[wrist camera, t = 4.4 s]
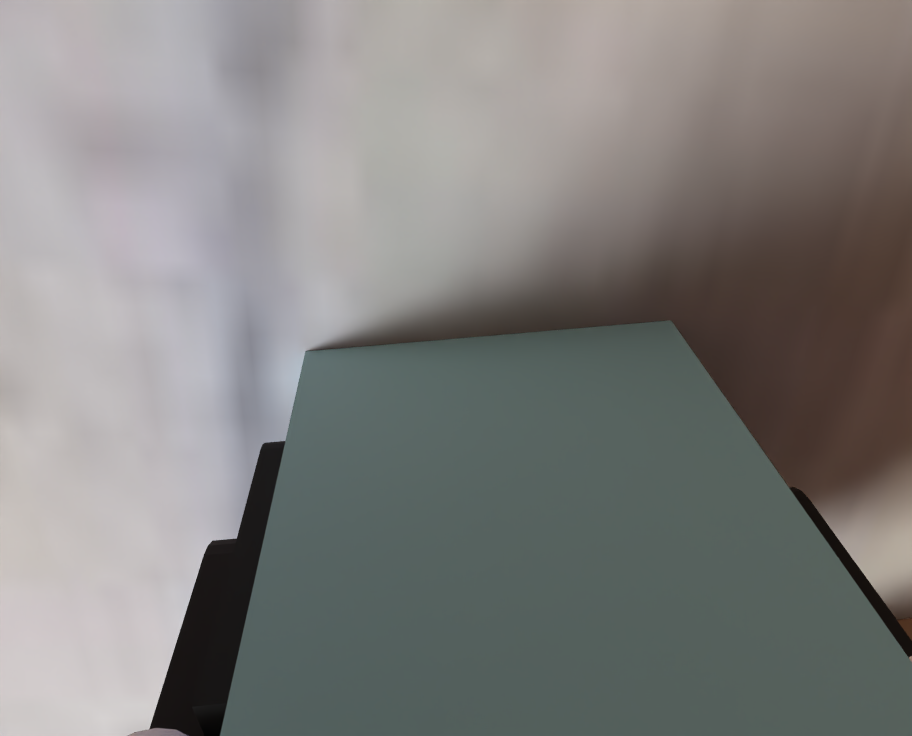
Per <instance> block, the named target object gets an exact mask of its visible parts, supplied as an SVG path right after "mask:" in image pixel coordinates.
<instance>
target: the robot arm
mask: <svg viewBox="0 0 912 736" xmlns="http://www.w3.org/2000/svg"><path fill="white" fill-rule="evenodd" d="M732 408H733V407H732ZM734 411H735V410H734ZM735 412H736V411H735ZM737 415H738V414H737ZM739 418H740V417H739ZM742 422H743V421H742ZM744 425H745V424H744ZM746 428H747V427H746ZM747 429H748V428H747ZM749 432H750V431H749ZM751 435H752V434H751ZM753 438H754V437H753ZM754 439H755V438H754ZM756 442H757V441H756ZM758 445H759V444H758ZM284 446H285V441H281V442H270V443H264V444H263V445H262V447H261V450H260V454H259V458H258V461H257V465H256V469H255V473H254V476H253V480H252V484H251V488H250V491H249V495H248V499H247V503H246V506H245V510H244V514H243V518H242V521H241V525H240V529H239V533H238V536H237V539H227V540H216V541H212V542H211V543H210V544H209V545H208V547H207V549H206V552H205V554H204V557H203V560H202V563H201V566H200V569H199V573H198V576H197V579H196V582H195V585H194V589H193V592H192V595H191V598H190V601H189V605H188V608H187V611H186V614H185V617H184V621H183V624H182V627H181V630H180V633H179V637H178V640H177V643H176V646H175V649H174V652H173V656H172V659H171V662H170V665H169V668H168V672H167V675H166V678H165V681H164V684H163V688H162V691H161V694H160V697H159V700H158V704H157V707H156V710H155V713H154V716H153V720H152V723H151V726H150V729H149V730H144V731H139V732H134V733H132V734H130V735H128V736H220V733H221V729H222V724H223V720H224V715H225V711H226V706H227V702H228V697H229V693H230V688H231V684H232V679H233V675H234V670H235V666H236V661H237V657H238V652H239V648H240V643H241V639H242V634H243V630H244V625H245V621H246V617H247V612H248V608H249V603H250V599H251V594H252V590H253V585H254V581H255V576H256V572H257V567H258V563H259V558H260V554H261V549H262V545H263V540H264V536H265V531H266V527H267V522H268V518H269V513H270V509H271V504H272V500H273V495H274V491H275V486H276V482H277V477H278V473H279V468H280V464H281V459H282V455H283V450H284ZM761 449H762V448H761ZM763 452H764V451H763ZM765 455H766V454H765ZM766 456H767V455H766ZM768 459H769V458H768ZM770 462H771V461H770ZM773 466H774V465H773ZM775 469H776V468H775ZM777 472H778V471H777ZM778 473H779V472H778ZM780 476H781V475H780ZM782 479H783V478H782ZM784 482H785V481H784ZM785 483H786V482H785ZM787 486H788V485H787ZM789 489H790V490H791V491H792V493H793V494H794V496H795V497H796V499H797V500H798V501H799V503H800V504H801V506H802V507H803V509H804V510H805V511H806V513H807V514H808V516H809V517H810V518H811V520H812V521H813V523H814V524H815V526H816V527H817V528H818V530H819V531H820V533H821V534H822V536H823V537H824V538H825V540H826V541H827V543H828V544H829V545H830V547H831V548H832V550H833V551H834V553H835V554H836V555H837V557H838V558H839V560H840V561H841V563H842V564H843V565H844V567H845V568H846V570H847V571H848V572H849V574H850V575H851V577H852V578H853V580H854V581H855V582H856V584H857V585H858V587H859V588H860V590H861V591H862V592H863V594H864V595H865V597H866V598H867V599H868V601H869V602H870V604H871V605H872V607H873V608H874V609H875V611H876V612H877V614H878V615H879V617H880V618H881V619H882V621H883V622H884V624H885V625H886V626H887V628H888V629H889V631H890V632H891V634H892V635H893V636H894V638H895V639H896V641H897V642H898V643H899V645H900V646H901V648H902V649H903V651H904V652H905V653H906V655H907V656H908V658H909V659H910V661H911V662H912V640H911V639H910V637H909V636H908V635H907V633H906V632H905V631H904V629H903V628H902V626H901V625H900V624H899V622H898V621H897V620H896V618H895V617H894V615H893V614H892V613H891V611H890V610H889V609H888V607H887V606H886V604H885V603H884V602H883V600H882V599H881V598H880V596H879V595H878V593H877V592H876V591H875V589H874V588H873V586H872V585H871V584H870V582H869V581H868V580H867V578H866V577H865V575H864V574H863V573H862V571H861V570H860V569H859V567H858V566H857V564H856V563H855V562H854V560H853V559H852V558H851V556H850V555H849V553H848V552H847V551H846V549H845V548H844V547H843V545H842V544H841V542H840V541H839V540H838V538H837V537H836V536H835V534H834V533H833V531H832V530H831V529H830V527H829V526H828V524H827V523H826V522H825V520H824V519H823V518H822V516H821V515H820V513H819V512H818V511H817V509H816V508H815V507H814V505H813V504H812V502H811V501H810V500H809V498H808V497H807V496H806V495H805V494H804V493H803V492H802V491H801V490H799V489H796V488H794V487H792V488H789Z"/></svg>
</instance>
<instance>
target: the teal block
mask: <svg viewBox="0 0 912 736" xmlns="http://www.w3.org/2000/svg"><path fill="white" fill-rule="evenodd" d="M220 736H912V662H911V661H910V659H909V658H908V656H907V655H906V653H905V652H904V651H903V649H902V648H901V646H900V645H899V643H898V642H897V641H896V639H895V638H894V636H893V635H892V634H891V632H890V631H889V629H888V628H887V626H886V625H885V624H884V622H883V621H882V619H881V618H880V617H879V615H878V614H877V612H876V611H875V609H874V608H873V607H872V605H871V604H870V602H869V601H868V599H867V598H866V597H865V595H864V594H863V592H862V591H861V590H860V588H859V587H858V585H857V584H856V582H855V581H854V580H853V578H852V577H851V575H850V574H849V572H848V571H847V570H846V568H845V567H844V565H843V564H842V563H841V561H840V560H839V558H838V557H837V555H836V554H835V553H834V551H833V550H832V548H831V547H830V545H829V544H828V543H827V541H826V540H825V538H824V537H823V536H822V534H821V533H820V531H819V530H818V528H817V527H816V526H815V524H814V523H813V521H812V520H811V518H810V517H809V516H808V514H807V513H806V511H805V510H804V509H803V507H802V506H801V504H800V503H799V501H798V500H797V499H796V497H795V496H794V494H793V493H792V491H791V490H790V489H789V487H788V486H787V484H786V483H785V482H784V480H783V479H782V477H781V476H780V474H779V473H778V472H777V470H776V469H775V467H774V466H773V464H772V463H771V462H770V460H769V459H768V457H767V456H766V455H765V453H764V452H763V450H762V449H761V447H760V446H759V445H758V443H757V442H756V440H755V439H754V438H753V436H752V435H751V433H750V432H749V430H748V429H747V428H746V426H745V425H744V423H743V422H742V420H741V419H740V418H739V416H738V415H737V413H736V412H735V411H734V409H733V408H732V406H731V405H730V403H729V402H728V401H727V399H726V398H725V396H724V395H723V393H722V392H721V391H720V389H719V388H718V386H717V385H716V384H715V382H714V381H713V379H712V378H711V376H710V375H709V374H708V372H707V371H706V369H705V368H704V366H703V365H702V364H701V362H700V361H699V359H698V358H697V357H696V355H695V354H694V352H693V351H692V349H691V348H690V347H689V345H688V344H687V342H686V341H685V339H684V338H683V337H682V335H681V334H680V332H679V331H678V330H677V328H676V327H675V325H674V324H673V322H672V321H671V320H670V321H658V322H646V323H634V324H623V325H611V326H599V327H587V328H575V329H564V330H552V331H540V332H528V333H516V334H505V335H493V336H481V337H469V338H457V339H446V340H434V341H422V342H410V343H398V344H387V345H375V346H363V347H351V348H339V349H328V350H316V351H306V352H305V356H304V361H303V365H302V370H301V374H300V379H299V383H298V388H297V392H296V397H295V401H294V406H293V410H292V415H291V419H290V424H289V428H288V432H287V437H286V441H285V446H284V450H283V455H282V459H281V464H280V468H279V473H278V477H277V482H276V486H275V491H274V495H273V500H272V504H271V509H270V513H269V518H268V522H267V527H266V531H265V536H264V540H263V545H262V549H261V554H260V558H259V563H258V567H257V572H256V576H255V581H254V585H253V590H252V594H251V599H250V603H249V608H248V612H247V617H246V621H245V625H244V630H243V634H242V639H241V643H240V648H239V652H238V657H237V661H236V666H235V670H234V675H233V679H232V684H231V688H230V693H229V697H228V702H227V706H226V711H225V715H224V720H223V724H222V729H221V733H220Z"/></svg>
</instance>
